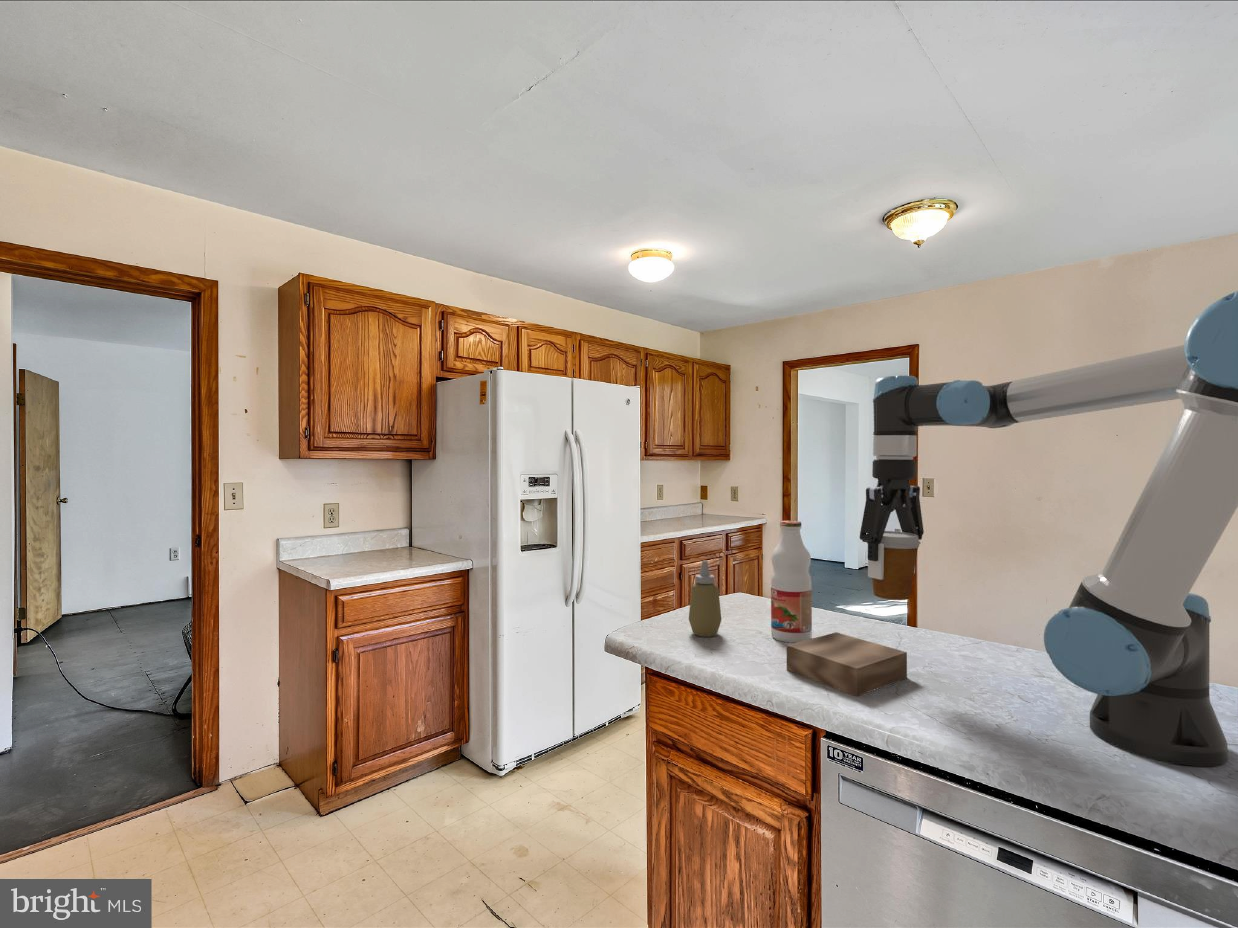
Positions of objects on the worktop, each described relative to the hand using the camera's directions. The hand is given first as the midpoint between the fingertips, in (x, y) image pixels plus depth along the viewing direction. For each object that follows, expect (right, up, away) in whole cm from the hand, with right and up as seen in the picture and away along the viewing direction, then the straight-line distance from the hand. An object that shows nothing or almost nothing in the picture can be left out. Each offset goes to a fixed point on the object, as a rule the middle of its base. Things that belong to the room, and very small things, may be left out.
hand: (891, 574), depth 111 cm
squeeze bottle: (-31, -21, +32) cm, 49 cm away
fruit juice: (-11, -21, +28) cm, 37 cm away
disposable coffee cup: (0, -4, 0) cm, 4 cm away
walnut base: (-7, -20, +4) cm, 22 cm away
